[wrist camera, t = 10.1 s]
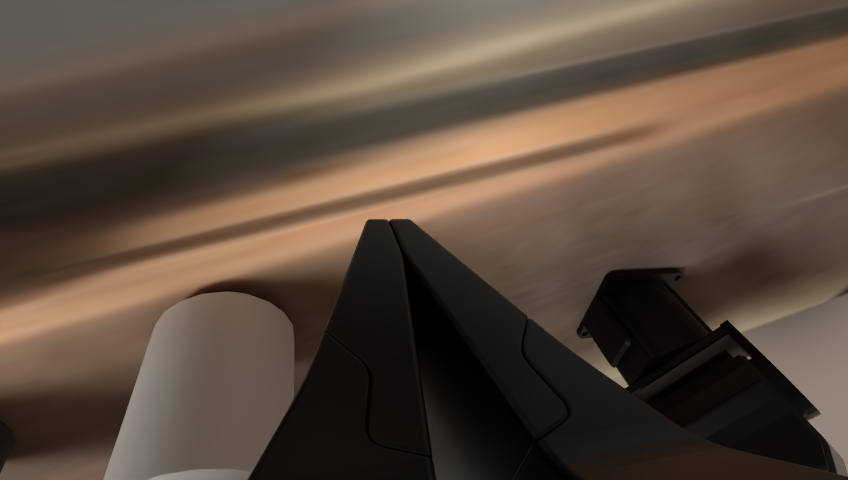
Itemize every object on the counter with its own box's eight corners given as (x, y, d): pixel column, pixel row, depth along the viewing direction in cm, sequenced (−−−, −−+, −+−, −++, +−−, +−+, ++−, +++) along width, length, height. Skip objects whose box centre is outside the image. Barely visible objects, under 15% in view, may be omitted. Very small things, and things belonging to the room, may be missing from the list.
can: (314, 299, 26) (322, 518, 17) (268, 374, 29) (254, 592, 20) (177, 265, 23) (95, 518, 13) (142, 354, 26) (56, 608, 17)
